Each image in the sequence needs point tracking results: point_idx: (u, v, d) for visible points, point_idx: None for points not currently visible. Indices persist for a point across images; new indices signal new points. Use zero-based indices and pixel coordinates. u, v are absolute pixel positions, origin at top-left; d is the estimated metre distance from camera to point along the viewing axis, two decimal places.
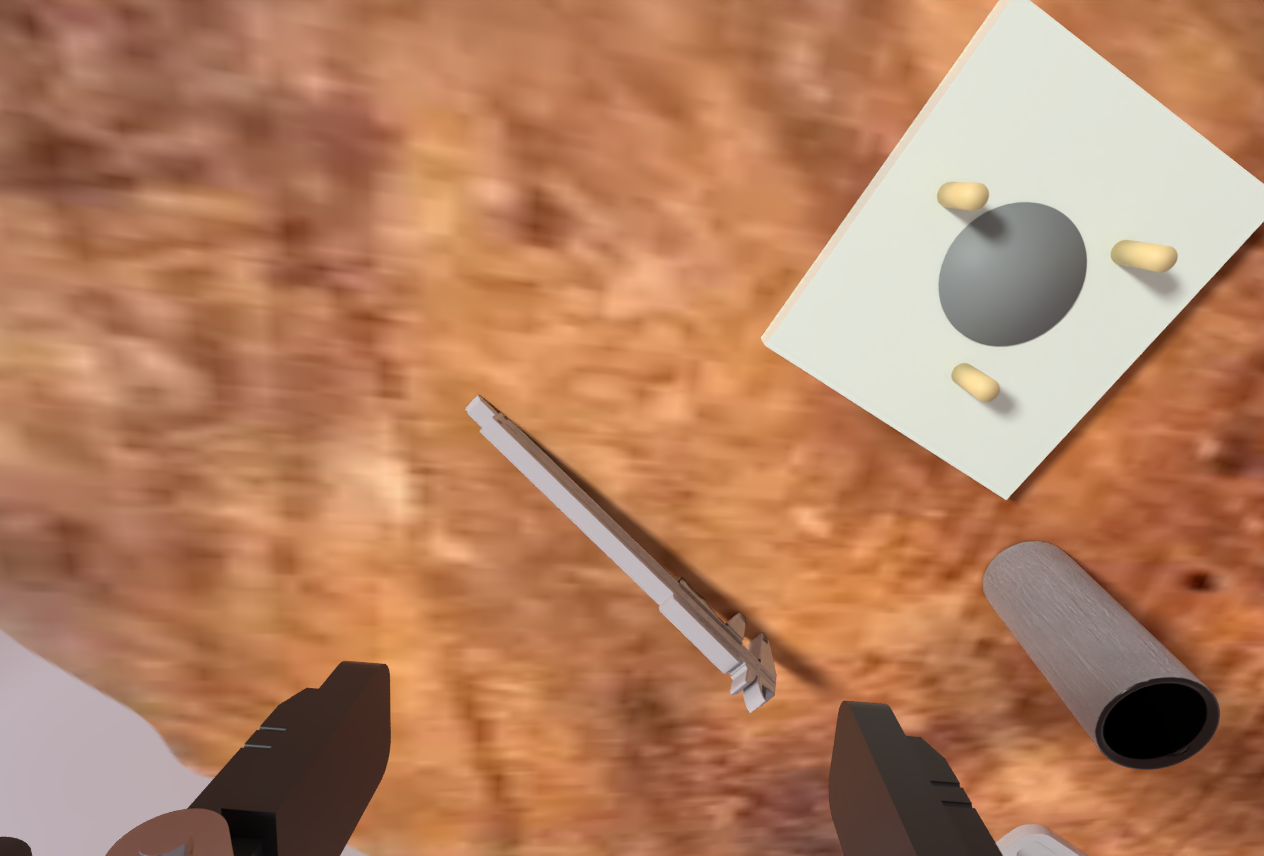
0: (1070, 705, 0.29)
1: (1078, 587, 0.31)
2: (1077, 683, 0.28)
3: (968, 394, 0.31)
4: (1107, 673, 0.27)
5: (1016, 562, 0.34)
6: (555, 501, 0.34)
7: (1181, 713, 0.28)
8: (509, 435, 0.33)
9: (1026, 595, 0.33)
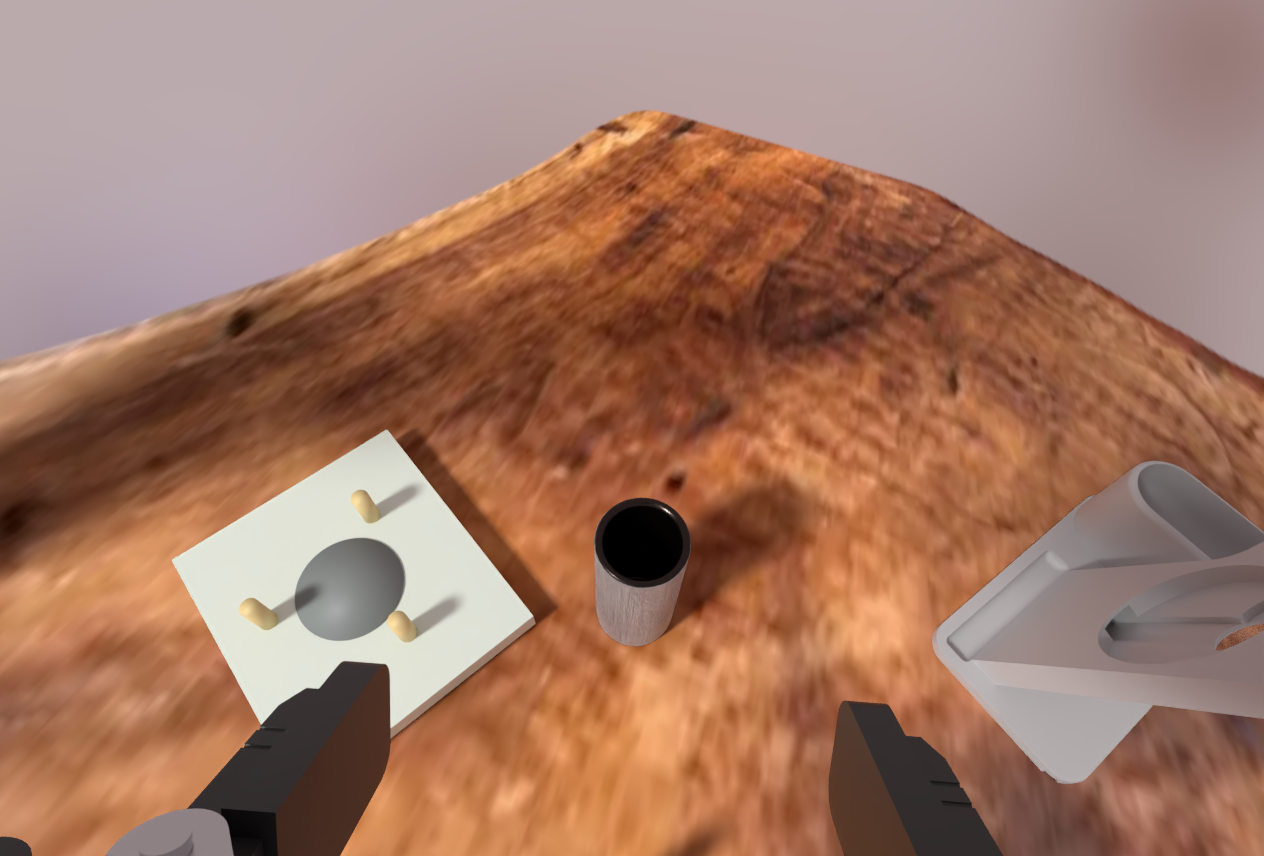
0: (642, 600, 0.33)
1: None
2: (617, 592, 0.33)
3: (427, 631, 0.38)
4: (599, 570, 0.33)
5: (598, 615, 0.39)
6: None
7: (659, 520, 0.34)
8: None
9: (604, 614, 0.37)
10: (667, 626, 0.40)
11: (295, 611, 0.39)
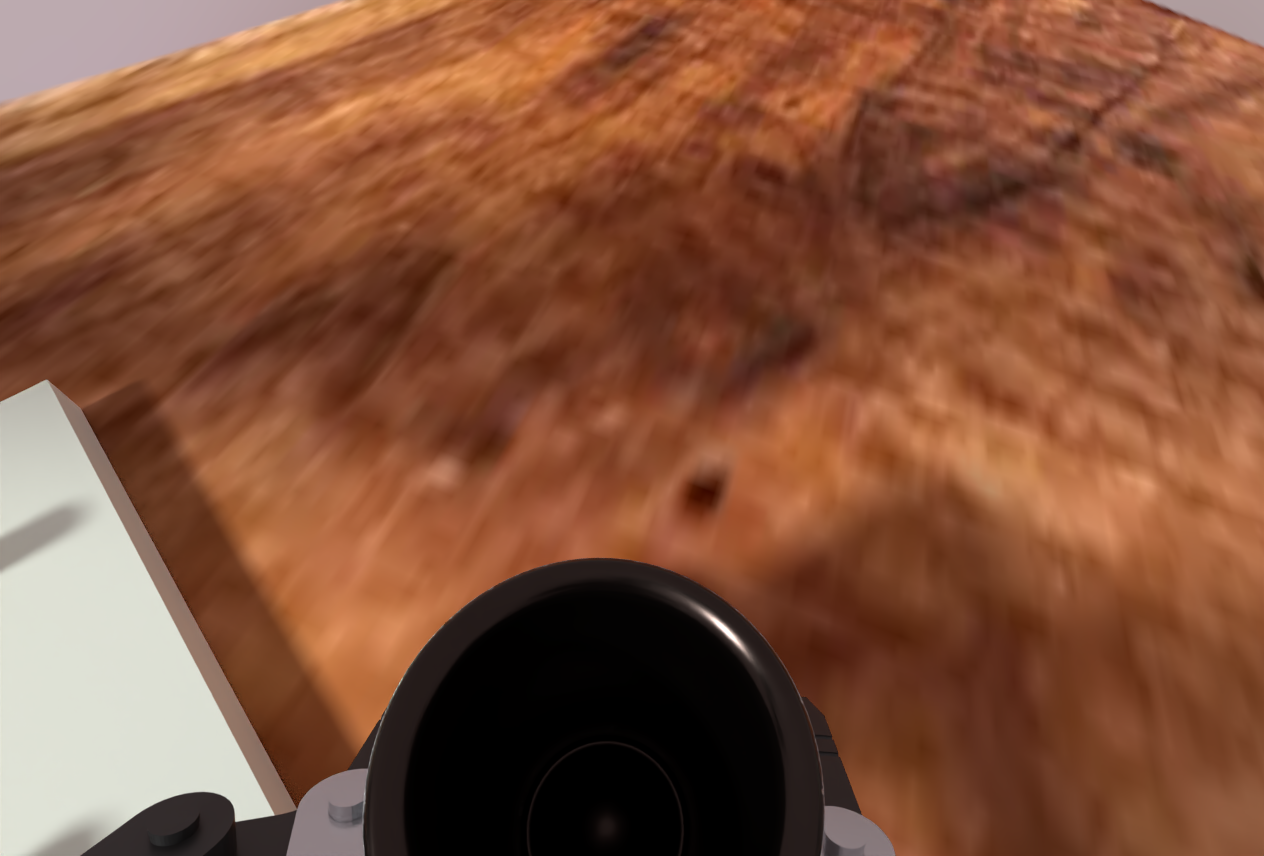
0: None
1: None
2: None
3: None
4: None
5: None
6: None
7: (673, 643, 0.09)
8: None
9: None
10: None
11: None
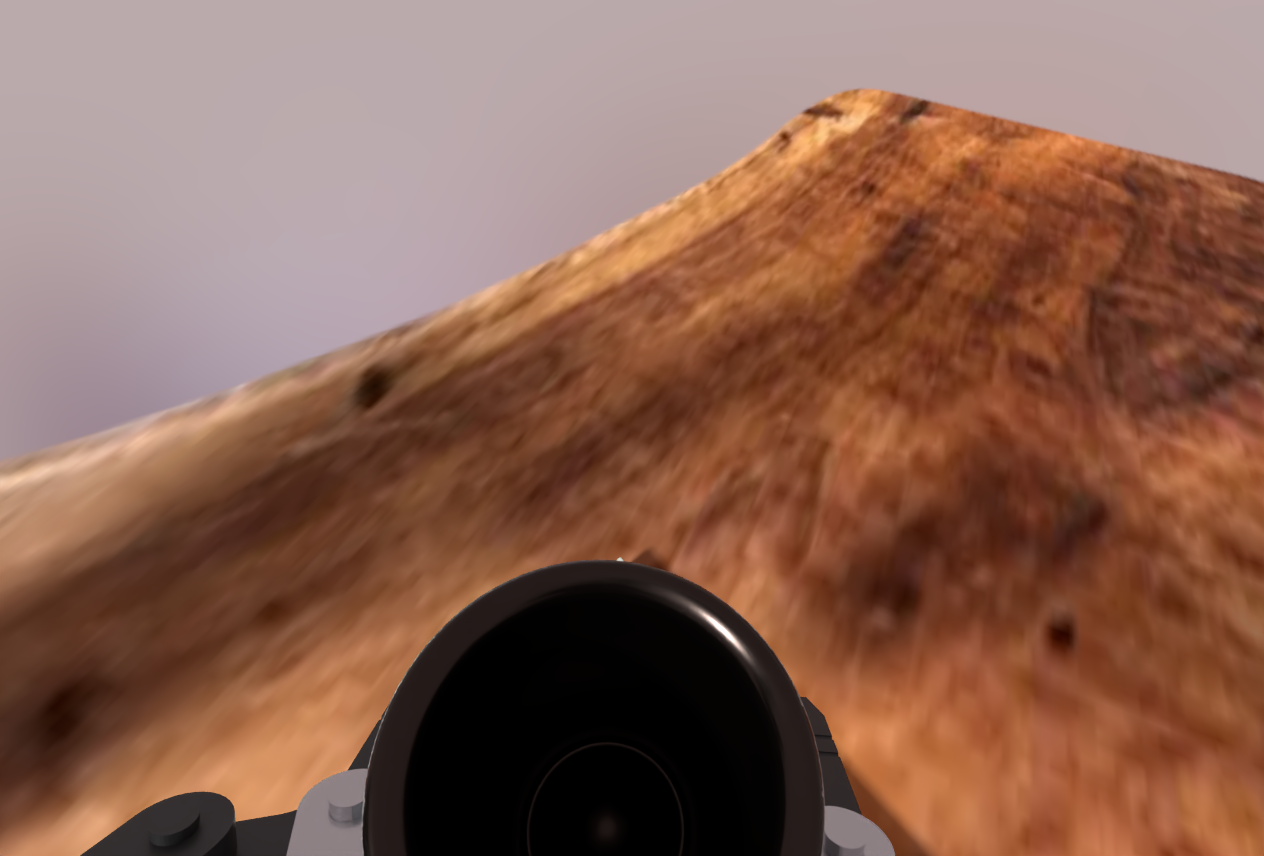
0: None
1: None
2: None
3: None
4: None
5: None
6: None
7: (673, 645, 0.09)
8: None
9: None
10: None
11: None
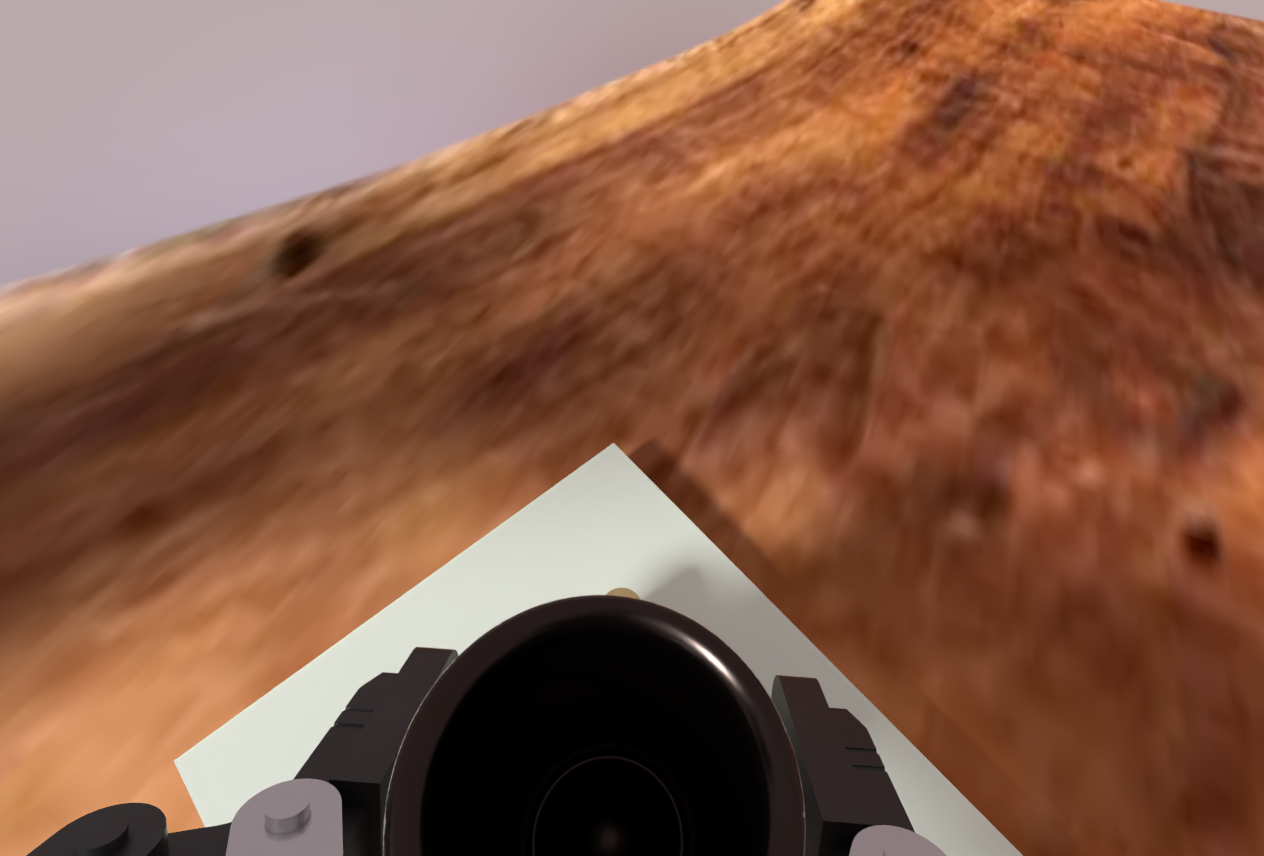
0: None
1: None
2: None
3: None
4: None
5: None
6: None
7: (668, 672, 0.09)
8: None
9: None
10: None
11: None
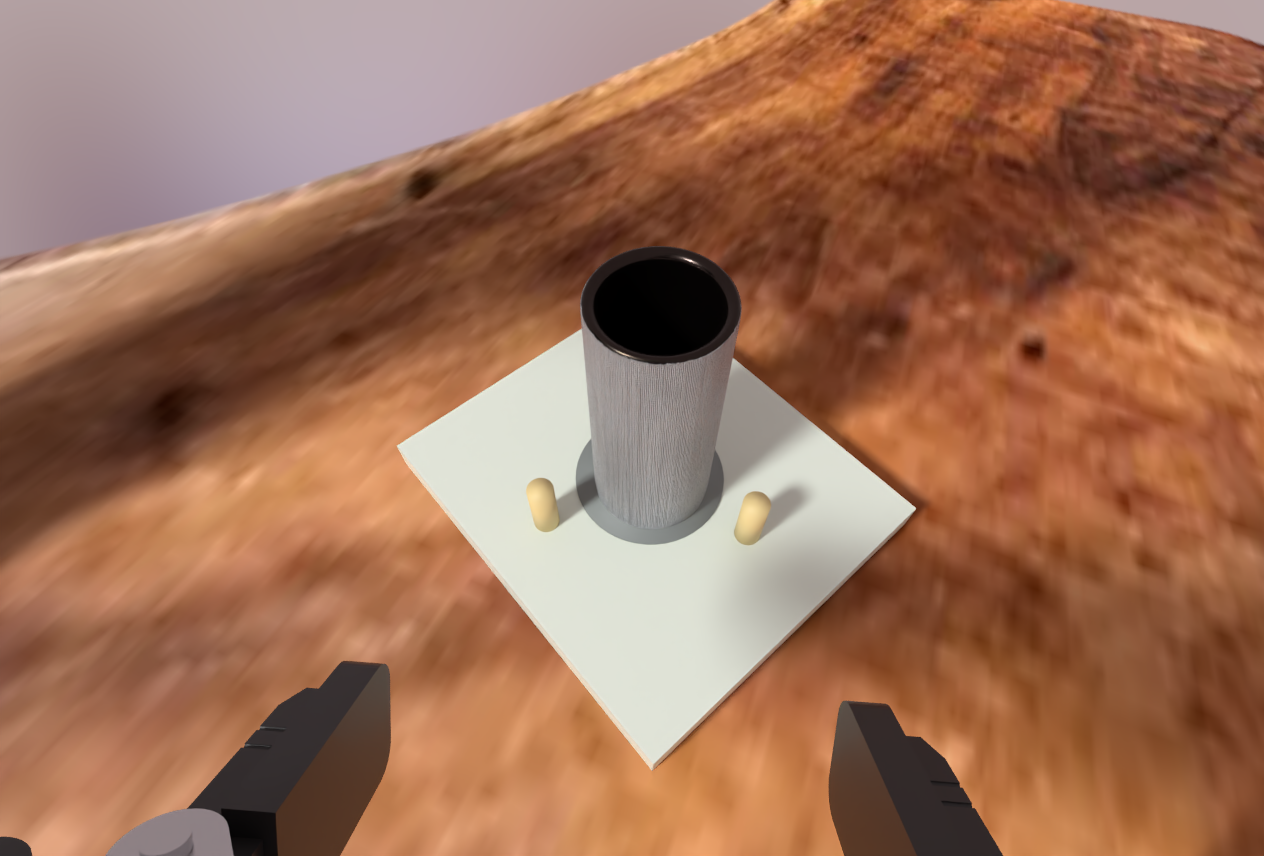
0: (662, 403, 0.20)
1: None
2: (620, 391, 0.20)
3: (773, 530, 0.27)
4: (591, 354, 0.20)
5: (598, 482, 0.26)
6: None
7: (687, 289, 0.21)
8: None
9: (605, 467, 0.24)
10: (701, 498, 0.27)
11: (581, 507, 0.27)
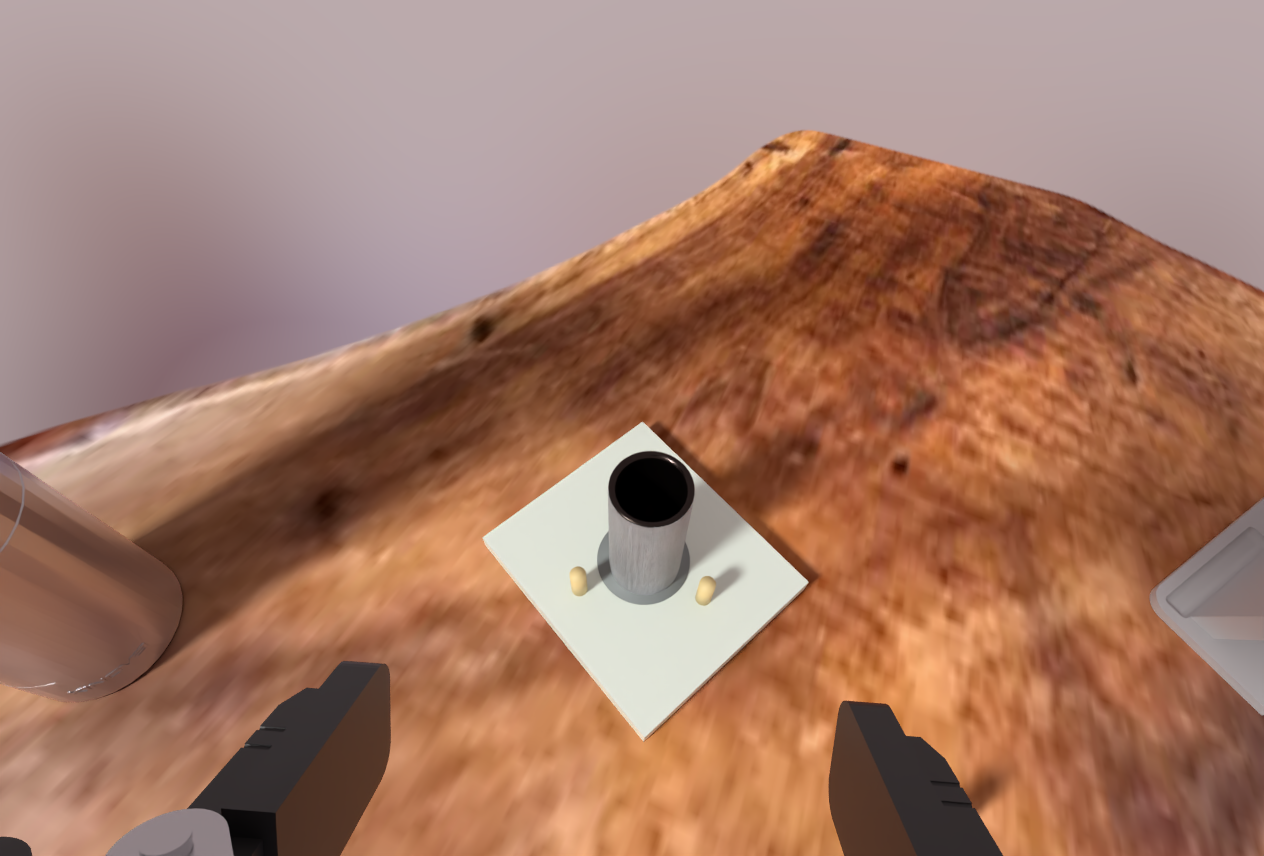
0: (652, 541, 0.36)
1: None
2: (628, 535, 0.36)
3: (719, 596, 0.44)
4: (613, 515, 0.36)
5: (612, 566, 0.43)
6: None
7: (666, 471, 0.38)
8: None
9: (617, 562, 0.41)
10: (675, 576, 0.43)
11: (601, 580, 0.44)
